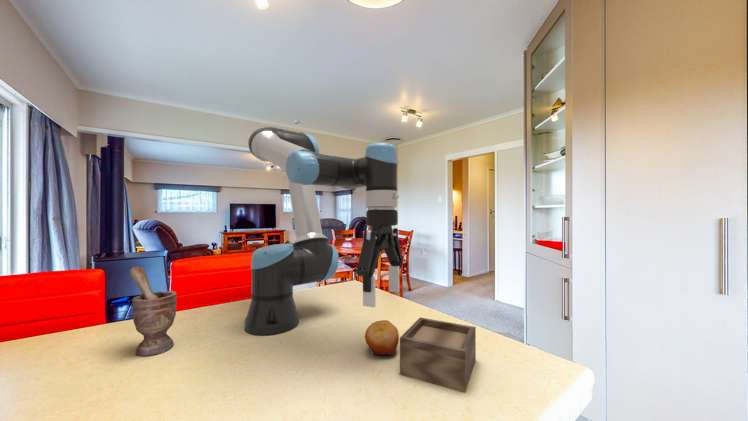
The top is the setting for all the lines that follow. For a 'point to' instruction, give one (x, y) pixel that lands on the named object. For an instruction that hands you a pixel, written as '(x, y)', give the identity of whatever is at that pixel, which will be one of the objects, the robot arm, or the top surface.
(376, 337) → the fruit
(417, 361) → the open wooden box
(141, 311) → the mortar and pestle
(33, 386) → the top surface
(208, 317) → the top surface
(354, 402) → the top surface
